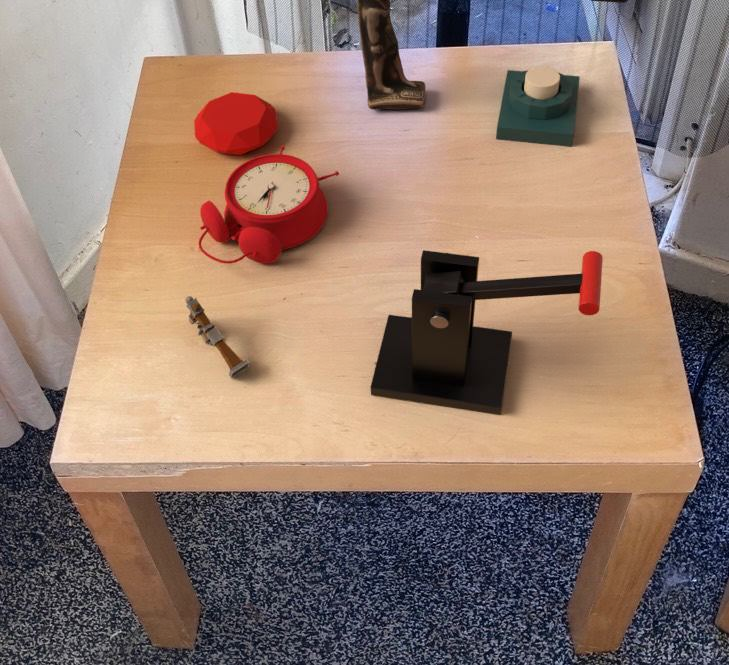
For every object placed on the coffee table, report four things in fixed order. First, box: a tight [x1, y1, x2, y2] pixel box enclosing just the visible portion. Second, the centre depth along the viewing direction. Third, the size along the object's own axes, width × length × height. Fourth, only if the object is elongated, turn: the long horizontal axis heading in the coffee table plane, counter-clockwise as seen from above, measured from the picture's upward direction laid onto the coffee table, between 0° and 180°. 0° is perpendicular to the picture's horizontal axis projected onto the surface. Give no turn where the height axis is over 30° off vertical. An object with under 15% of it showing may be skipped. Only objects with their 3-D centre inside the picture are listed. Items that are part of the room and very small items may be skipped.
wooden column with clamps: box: [184, 295, 250, 380], centre depth 75 cm, size 2×8×4 cm, turn 40°
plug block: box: [495, 69, 581, 147], centre depth 92 cm, size 8×10×4 cm
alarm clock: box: [197, 145, 340, 265], centre depth 83 cm, size 10×6×15 cm
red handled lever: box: [423, 250, 604, 316], centre depth 64 cm, size 13×5×2 cm, turn 78°
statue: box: [356, 0, 426, 111], centre depth 88 cm, size 4×7×20 cm, turn 89°
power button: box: [524, 65, 560, 100], centre depth 91 cm, size 4×4×2 cm
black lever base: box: [369, 249, 513, 416], centre depth 69 cm, size 11×8×12 cm
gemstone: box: [193, 91, 279, 156], centre depth 93 cm, size 9×9×3 cm
